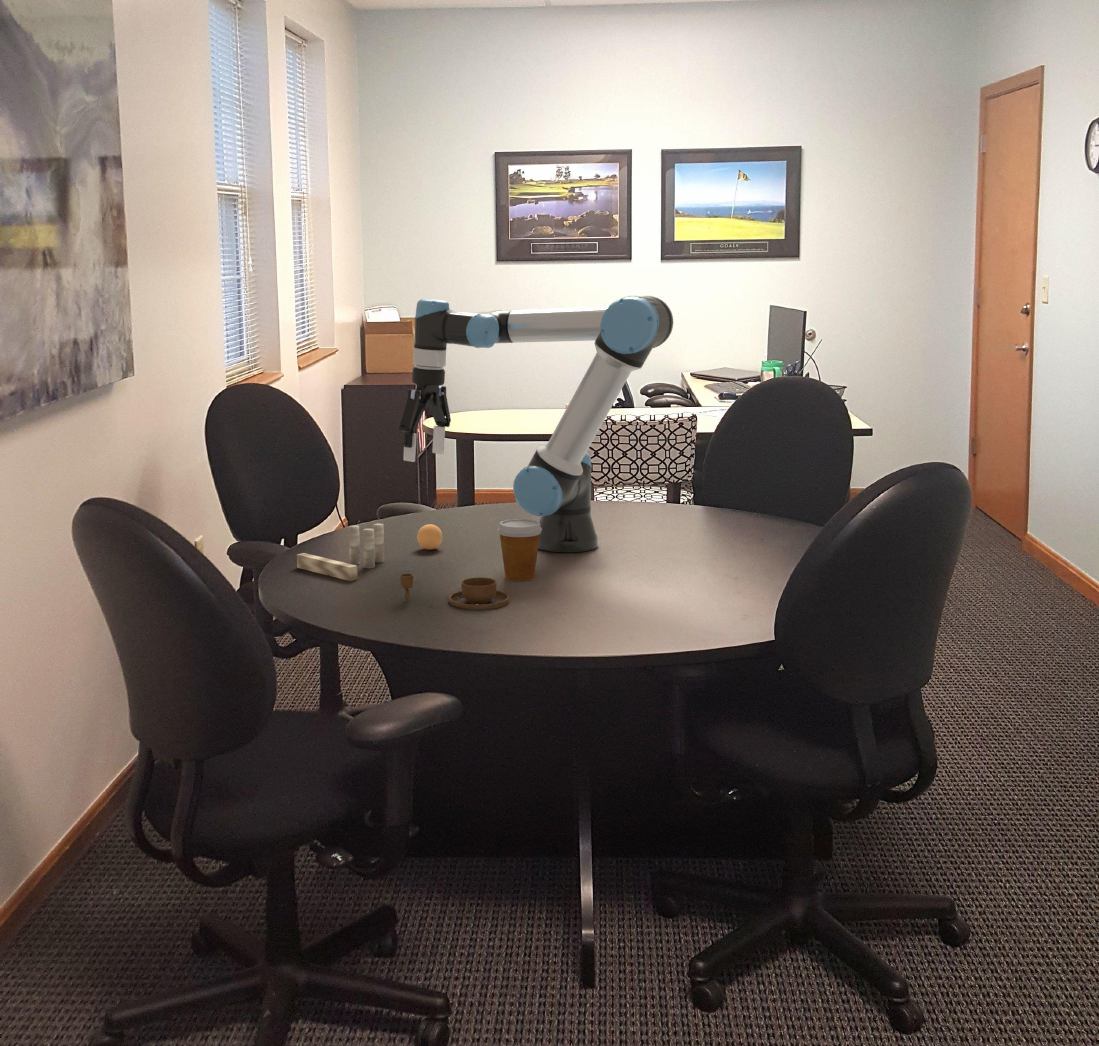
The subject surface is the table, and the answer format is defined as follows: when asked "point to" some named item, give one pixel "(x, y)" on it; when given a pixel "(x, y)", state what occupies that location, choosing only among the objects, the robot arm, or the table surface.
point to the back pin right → (354, 545)
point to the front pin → (379, 542)
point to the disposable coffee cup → (519, 548)
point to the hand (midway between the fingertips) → (423, 457)
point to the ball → (429, 536)
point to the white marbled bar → (327, 566)
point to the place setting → (468, 592)
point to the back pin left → (368, 548)
